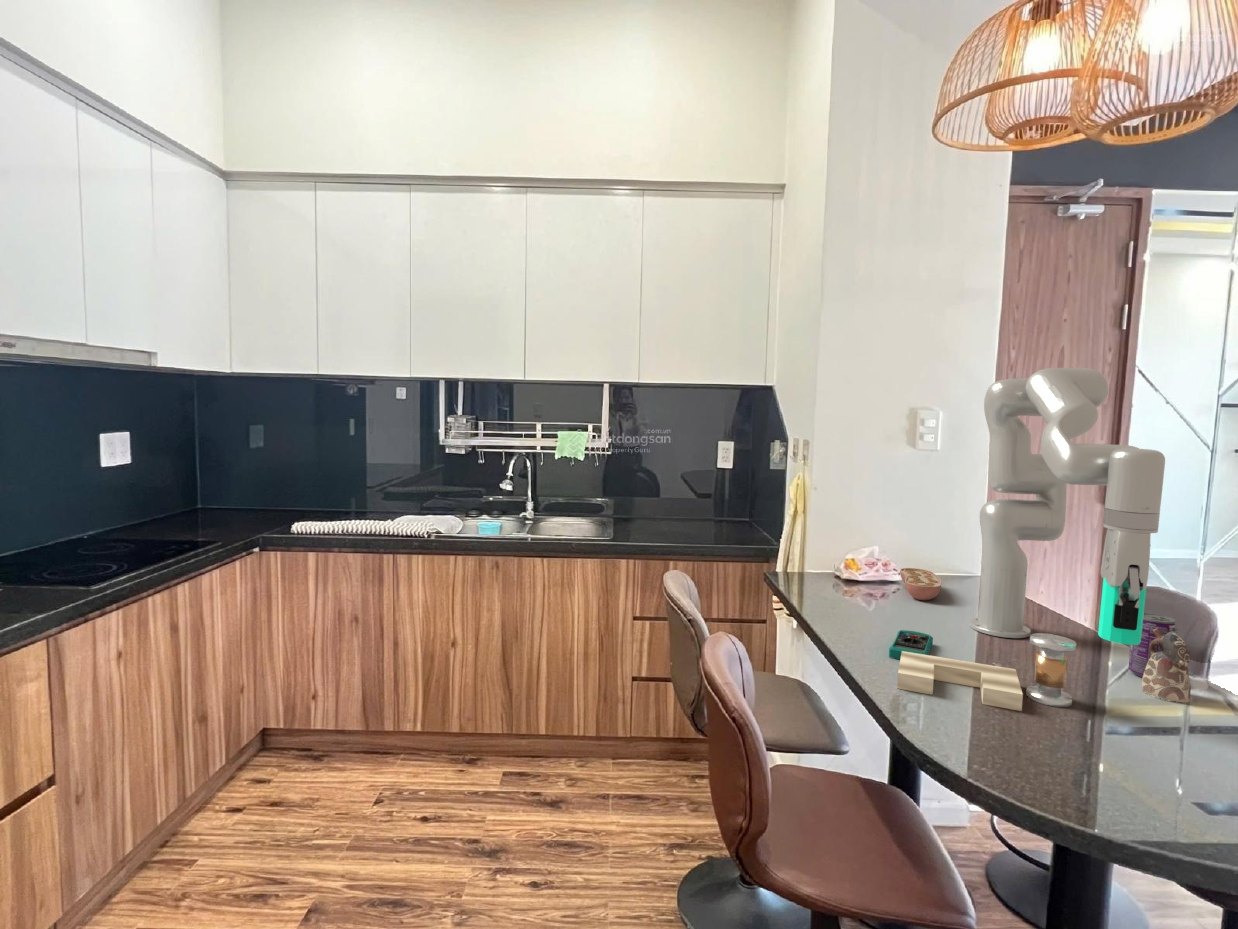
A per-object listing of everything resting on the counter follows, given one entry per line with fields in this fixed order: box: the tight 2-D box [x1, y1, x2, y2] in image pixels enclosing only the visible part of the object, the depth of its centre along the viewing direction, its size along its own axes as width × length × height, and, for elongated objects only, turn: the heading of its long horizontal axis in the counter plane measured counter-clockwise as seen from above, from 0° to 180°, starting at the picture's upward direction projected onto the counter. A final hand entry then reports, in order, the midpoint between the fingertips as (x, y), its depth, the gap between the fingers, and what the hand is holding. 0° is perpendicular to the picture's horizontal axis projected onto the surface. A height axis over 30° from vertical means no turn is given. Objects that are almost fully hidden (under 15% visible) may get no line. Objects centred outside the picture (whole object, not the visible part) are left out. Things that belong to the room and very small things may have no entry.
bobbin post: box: [1025, 632, 1077, 708], centre depth 120 cm, size 7×7×11 cm
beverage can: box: [1127, 612, 1179, 678], centre depth 132 cm, size 7×7×12 cm
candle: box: [1097, 578, 1147, 646], centre depth 116 cm, size 6×6×12 cm
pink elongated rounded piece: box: [899, 567, 942, 601], centre depth 192 cm, size 23×10×5 cm, turn 163°
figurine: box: [1141, 628, 1192, 703], centre depth 123 cm, size 7×7×12 cm
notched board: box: [896, 651, 1024, 712], centre depth 125 cm, size 13×20×3 cm, turn 64°
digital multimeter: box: [888, 629, 934, 660], centre depth 144 cm, size 7×15×3 cm, turn 150°
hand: (1120, 622), depth 116 cm, fingers closed on candle, 4 cm apart
